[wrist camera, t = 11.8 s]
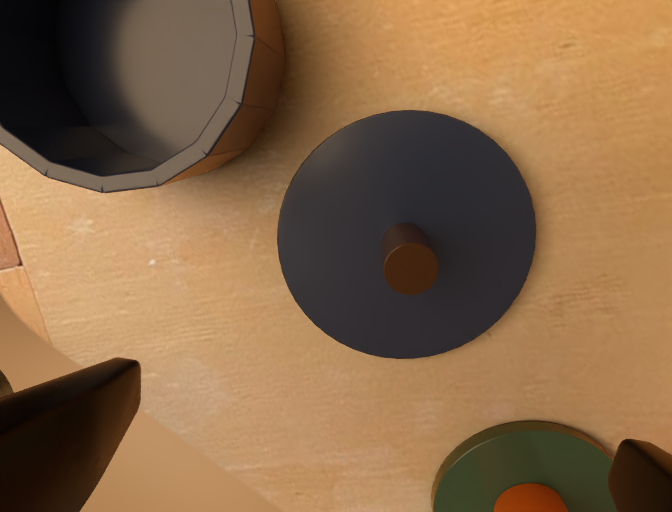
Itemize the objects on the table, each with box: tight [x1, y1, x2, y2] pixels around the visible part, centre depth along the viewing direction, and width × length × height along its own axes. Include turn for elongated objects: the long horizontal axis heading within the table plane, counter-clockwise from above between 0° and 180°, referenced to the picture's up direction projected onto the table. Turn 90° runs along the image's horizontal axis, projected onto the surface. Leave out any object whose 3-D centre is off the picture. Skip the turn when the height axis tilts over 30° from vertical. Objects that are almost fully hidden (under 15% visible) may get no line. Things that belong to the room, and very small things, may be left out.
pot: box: [0, 0, 285, 193], centre depth 16 cm, size 10×10×6 cm
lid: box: [277, 110, 536, 359], centre depth 18 cm, size 11×11×5 cm
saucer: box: [431, 421, 617, 512], centre depth 24 cm, size 10×10×1 cm
